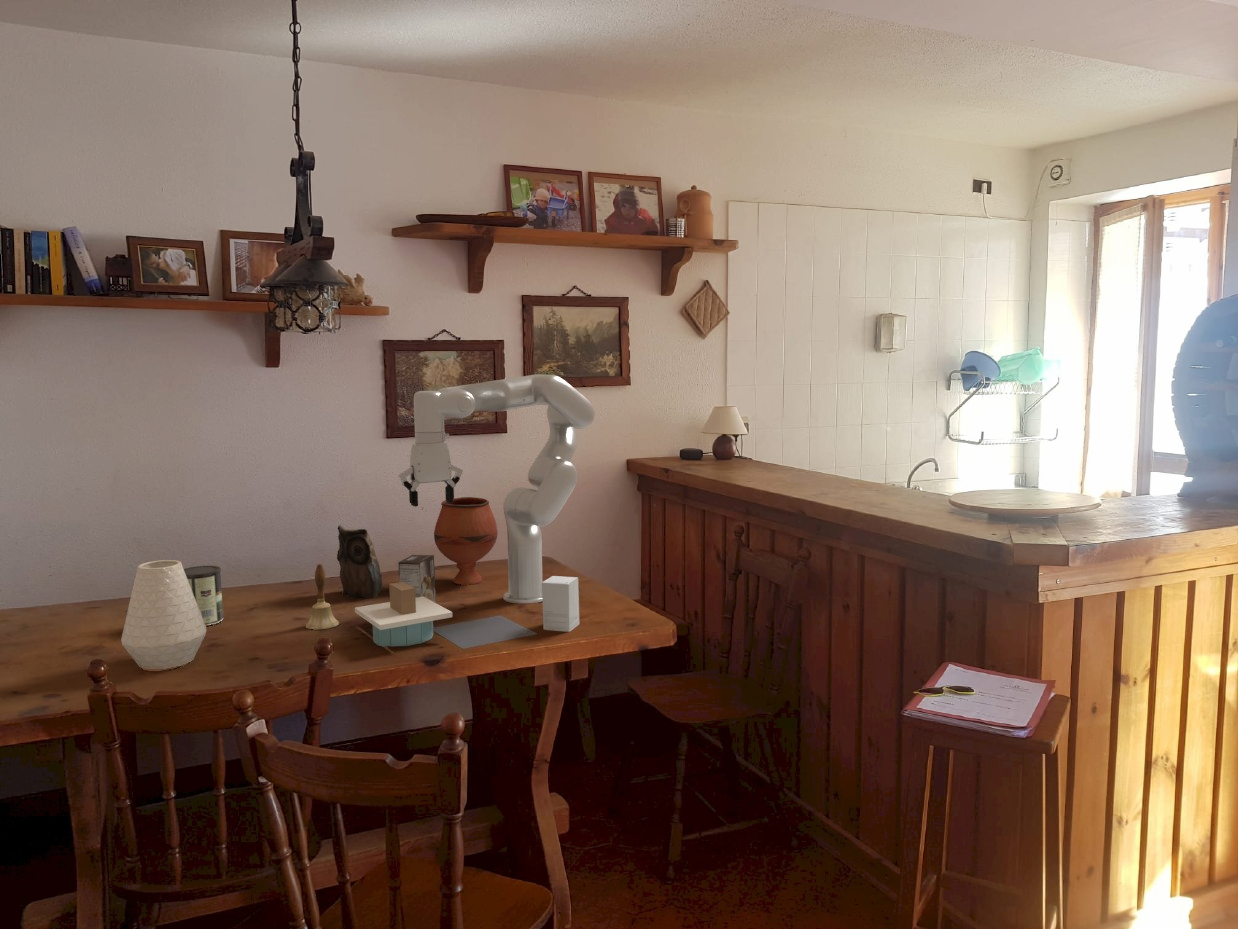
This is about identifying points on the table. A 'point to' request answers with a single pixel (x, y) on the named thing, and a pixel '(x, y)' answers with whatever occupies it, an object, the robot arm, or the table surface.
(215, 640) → the table surface
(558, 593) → the supplement box
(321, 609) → the hand bell
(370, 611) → the lid
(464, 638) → the mat
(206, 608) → the coffee can
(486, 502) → the goblet
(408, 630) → the bowl
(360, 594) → the owl
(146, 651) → the vase
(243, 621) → the table surface
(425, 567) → the coffee box
